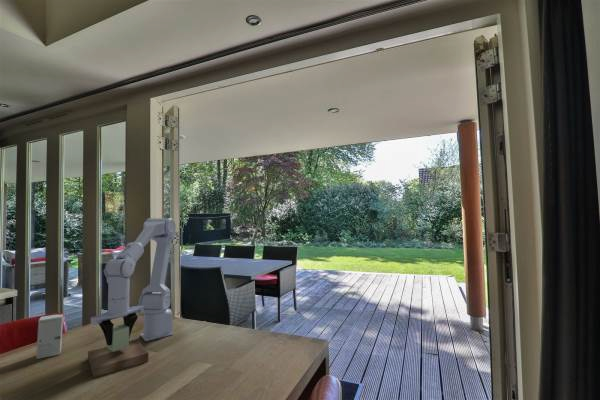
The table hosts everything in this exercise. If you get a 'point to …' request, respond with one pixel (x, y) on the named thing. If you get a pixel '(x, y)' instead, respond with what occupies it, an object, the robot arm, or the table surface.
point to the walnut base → (116, 358)
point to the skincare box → (49, 336)
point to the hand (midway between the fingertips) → (118, 341)
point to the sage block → (119, 338)
